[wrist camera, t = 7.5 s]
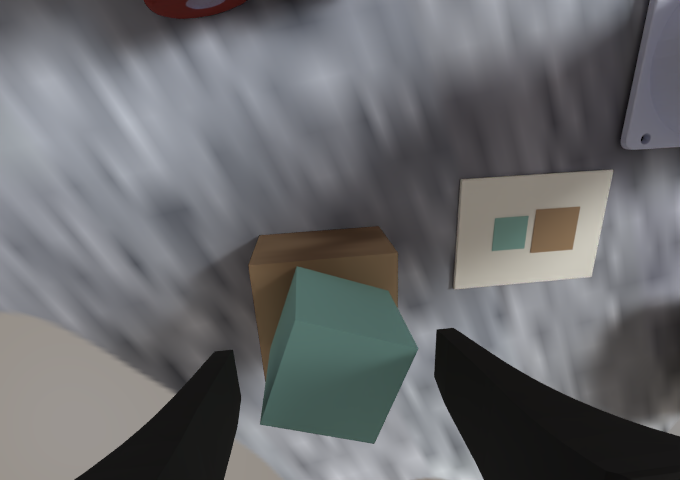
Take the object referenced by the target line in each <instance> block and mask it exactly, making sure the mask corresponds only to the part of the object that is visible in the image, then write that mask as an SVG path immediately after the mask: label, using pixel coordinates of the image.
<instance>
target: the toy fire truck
mask: <svg viewBox="0 0 680 480" xmlns="http://www.w3.org/2000/svg"><path fill="white" fill-rule="evenodd" d="M246 1H247V0H144V2H145V4H146V5H147V6H148V8H149V9H150V10H152V11H153V12H154V13H156V14H158V15H161V16H164V17H170V18H177V19H187V18H199V17H204V16H211V15H215V14H218V13H221V12H225V11H227V10H230V9H232V8H234V7H237V6H239V5H241V4H243V3H244V2H246Z"/></svg>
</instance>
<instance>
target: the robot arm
mask: <svg viewBox="0 0 680 480" xmlns="http://www.w3.org/2000/svg"><path fill="white" fill-rule="evenodd" d="M643 135H644V138H643V140H642V142H641V138H642V136H643ZM621 146H622V147H623V148H624V149H629V150H639V149H656V148H672V147H680V0H650V2H649V7H648V12H647V17H646V21H645V26H644V31H643V36H642V40H641V45H640V50H639V55H638V60H637V64H636V69H635V74H634V79H633V84H632V88H631V93H630V98H629V103H628V107H627V112H626V117H625V122H624V127H623V131H622V136H621ZM434 377H435V380H436V382H437V385H438V388H439V391H440V393H441V396H442V398H443V401H444V403H445V405H446V407H447V409H448V411H449V413H450V415H451V417H452V419H453V421H454V423H455V424H456V426H457V428H458V430H459V432H460V434H461V436H462V438H463V440H464V441H465V443H466V445H467V447H468V449H469V451H470V453H471V455H472V457H473V458H474V460H475V462H476V464H477V466H478V468H479V470H480V472H481V474H482V477H483V479H484V480H680V436H676V435H673V434H669V433H666V432H663V431H659V430H656V429H652V428H649V427H646V426H643V425H640V424H637V423H634V422H632V421H629V420H626V419H623V418H620V417H617V416H615V415H612V414H609V413H607V412H604V411H602V410H599V409H597V408H594V407H592V406H590V405H587V404H585V403H582V402H580V401H578V400H575V399H573V398H571V397H569V396H567V395H564V394H562V393H560V392H558V391H556V390H554V389H552V388H550V387H548V386H546V385H544V384H542V383H540V382H538V381H537V380H535V379H533V378H531V377H529V376H528V375H526V374H524V373H522V372H521V371H519V370H517V369H516V368H514V367H512V366H511V365H509V364H507V363H506V362H504V361H503V360H501V359H499V358H498V357H496V356H495V355H493V354H492V353H490V352H489V351H487V350H486V349H484V348H483V347H481V346H480V345H478V344H477V343H475V342H474V341H472V340H471V339H469V338H468V337H466V336H465V335H464V334H462V333H461V332H459V331H457V330H456V329H454V328H448V329H438V330H437V334H436V353H435V372H434ZM240 403H241V394H240V388H239V382H238V377H237V371H236V365H235V359H234V354H233V350H226V351H216V352H214V353H213V354H212V355H211V356H210V357H209V359H208V360H207V361H206V362H205V363H204V364H203V365H202V366H201V368H200V369H199V370H198V371H197V372H196V373H195V374H194V375H193V377H192V378H191V379H190V380H189V381H188V382H187V383H186V384H185V385H184V386H183V387H182V389H181V390H180V391H179V392H178V393H177V394H176V395H175V396H174V397H173V398H172V399H171V400H170V401H169V402H168V403H167V404H166V405H165V406H164V407H163V408H162V409H161V410H160V411H159V412H158V413H157V414H156V415H155V416H154V417H153V418H152V419H151V420H150V421H149V422H147V424H146V425H144V426H143V427H142V428H141V429H140V430H139V431H137V432H136V433H135V434H134V435H133V436H131V437H130V438H129V439H128V440H127V441H125V442H124V443H123V444H122V445H121V446H119V447H118V448H117V449H115V450H114V451H113V452H111V453H110V454H109V455H108V456H106V457H105V458H104V459H102V460H101V461H100V462H98V463H97V464H96V465H94V466H93V467H92V468H90V469H89V470H88V471H86V472H85V473H83V474H82V475H81V476H79V477H78V478H76V479H75V480H224V477H225V473H226V469H227V465H228V461H229V457H230V454H231V450H232V446H233V442H234V438H235V434H236V430H237V425H238V418H239V411H240Z"/></svg>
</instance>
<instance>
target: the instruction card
mask: <svg viewBox="0 0 680 480" xmlns="http://www.w3.org/2000/svg"><path fill="white" fill-rule="evenodd" d="M612 175H613V170H595V171H579V172H564V173H549V174H533V175H518V176H503V177H487V178H472V179H460V193H459V208H458V223H457V239H456V254H455V269H454V284H453V288H454V289H464V288H475V287H486V286H497V285H508V284H519V283H530V282H541V281H552V280H562V279H573V278H584V277H591V276H592V271H593V266H594V262H595V257H596V252H597V247H598V242H599V238H600V233H601V228H602V223H603V218H604V214H605V209H606V204H607V199H608V194H609V190H610V185H611V180H612Z"/></svg>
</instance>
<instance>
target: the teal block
mask: <svg viewBox="0 0 680 480" xmlns="http://www.w3.org/2000/svg"><path fill="white" fill-rule="evenodd" d="M417 350H418V347H417V345H416V343H415V341H414V339H413V337H412V335H411V334H410V332H409V330H408V328H407V326H406V324H405V322H404V320H403V318H402V316H401V314H400V312H399V310H398V308H397V306H396V305H395V303H394V301H393V299H392V297H391V295H390V293H389V291H388V290H384V289H380V288H376V287H373V286H369V285H365V284H361V283H358V282H354V281H350V280H346V279H343V278H339V277H335V276H332V275H328V274H324V273H320V272H317V271H313V270H309V269H305V268H302V267H298V266H297V267H296V270H295V273H294V276H293V279H292V282H291V286H290V289H289V292H288V295H287V298H286V301H285V304H284V307H283V310H282V313H281V317H280V320H279V323H278V326H277V329H276V332H275V335H274V338H273V341H272V344H271V348H270V354H269V361H268V369H267V376H266V383H265V391H264V398H263V406H262V413H261V421H260V425H266V426H272V427H278V428H284V429H290V430H296V431H302V432H308V433H313V434H319V435H325V436H331V437H337V438H343V439H349V440H355V441H361V442H366V443H372V444H374V443H375V441H376V439H377V437H378V435H379V432H380V430H381V428H382V426H383V424H384V422H385V419H386V417H387V415H388V413H389V411H390V409H391V407H392V404H393V402H394V400H395V398H396V396H397V394H398V391H399V389H400V387H401V385H402V383H403V381H404V378H405V376H406V374H407V372H408V370H409V368H410V365H411V363H412V361H413V359H414V357H415V355H416V353H417Z"/></svg>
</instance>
